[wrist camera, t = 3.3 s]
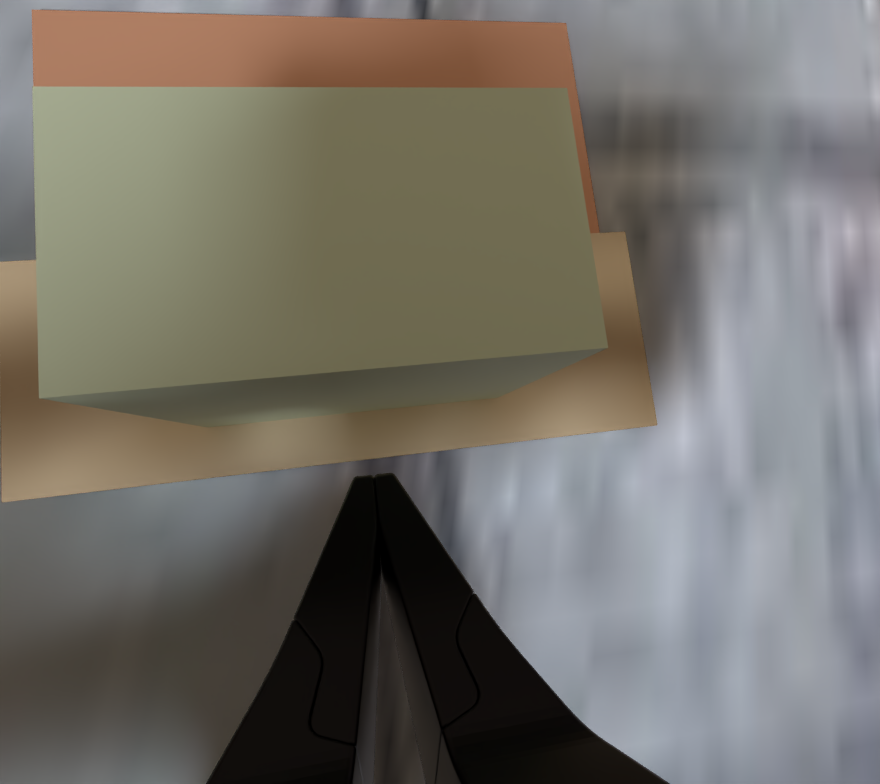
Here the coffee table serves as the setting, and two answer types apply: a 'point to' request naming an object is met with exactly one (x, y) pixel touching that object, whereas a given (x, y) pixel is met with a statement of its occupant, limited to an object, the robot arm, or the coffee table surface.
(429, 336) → the green block
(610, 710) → the coffee table surface
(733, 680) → the coffee table surface
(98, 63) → the rubber mat
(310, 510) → the coffee table surface
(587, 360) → the birch board
